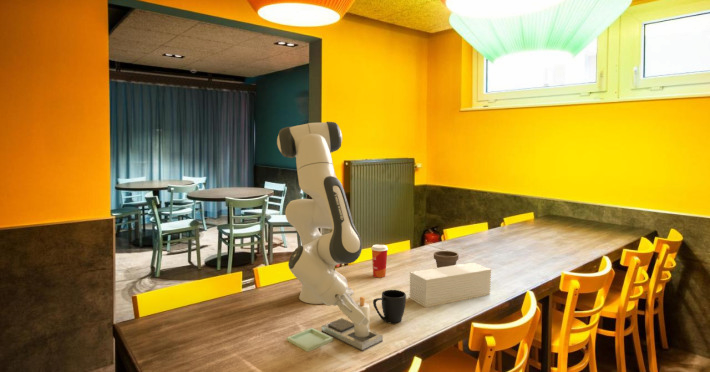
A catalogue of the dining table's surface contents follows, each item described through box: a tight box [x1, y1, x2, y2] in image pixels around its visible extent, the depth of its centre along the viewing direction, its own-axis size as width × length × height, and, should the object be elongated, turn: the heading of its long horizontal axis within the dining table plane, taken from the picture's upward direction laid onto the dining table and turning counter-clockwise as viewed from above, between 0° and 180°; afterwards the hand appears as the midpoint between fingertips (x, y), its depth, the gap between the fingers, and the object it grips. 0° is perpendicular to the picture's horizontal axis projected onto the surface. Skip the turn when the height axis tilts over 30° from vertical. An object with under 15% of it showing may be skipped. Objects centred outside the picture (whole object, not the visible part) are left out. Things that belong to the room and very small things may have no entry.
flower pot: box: [433, 250, 459, 268], centre depth 197 cm, size 12×11×10 cm
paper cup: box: [370, 244, 389, 279], centre depth 194 cm, size 8×8×14 cm
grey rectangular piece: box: [321, 317, 384, 352], centre depth 133 cm, size 9×18×3 cm, turn 45°
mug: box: [372, 289, 407, 325], centre depth 145 cm, size 8×12×10 cm
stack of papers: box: [409, 262, 492, 308], centre depth 170 cm, size 32×11×11 cm, turn 116°
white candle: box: [354, 296, 371, 337], centre depth 129 cm, size 5×5×11 cm
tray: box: [286, 327, 334, 353], centre depth 130 cm, size 10×10×2 cm
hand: (363, 318), depth 129 cm, fingers closed on white candle, 4 cm apart
